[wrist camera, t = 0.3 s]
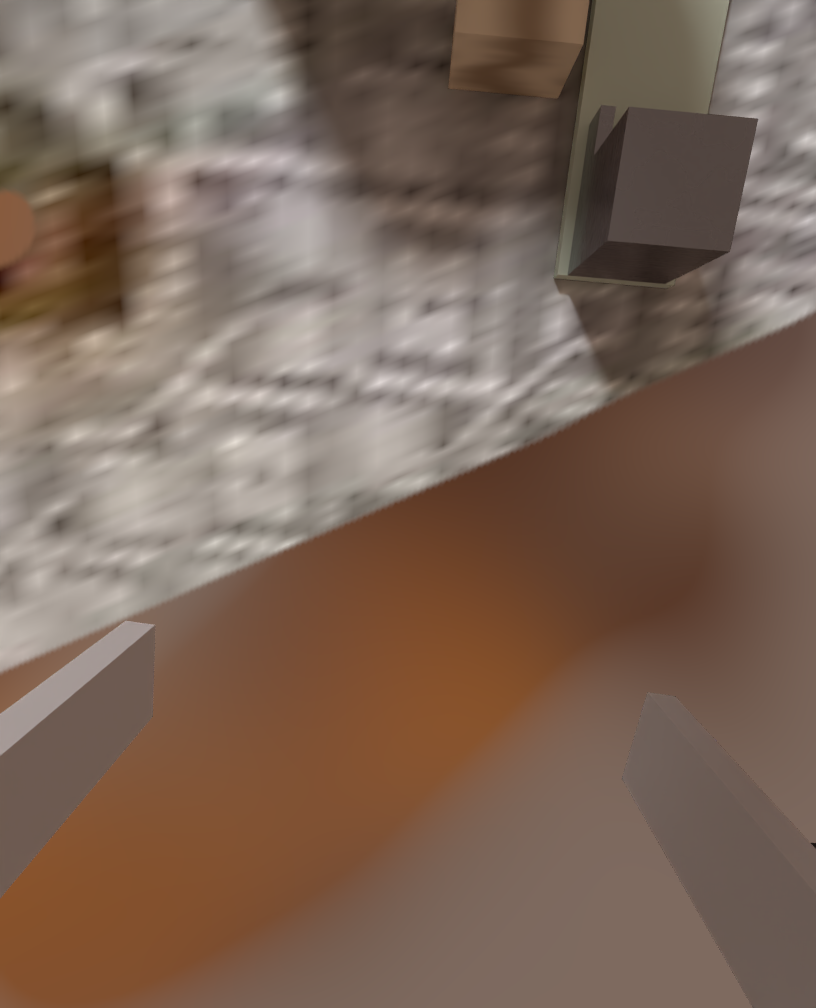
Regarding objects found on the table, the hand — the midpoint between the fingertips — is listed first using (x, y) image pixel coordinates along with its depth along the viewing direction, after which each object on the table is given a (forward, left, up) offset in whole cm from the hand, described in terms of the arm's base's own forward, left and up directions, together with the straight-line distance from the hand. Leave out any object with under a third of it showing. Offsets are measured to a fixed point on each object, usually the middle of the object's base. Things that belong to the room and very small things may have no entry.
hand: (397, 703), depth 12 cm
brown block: (-33, +5, -27) cm, 43 cm away
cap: (-24, +15, -26) cm, 38 cm away
